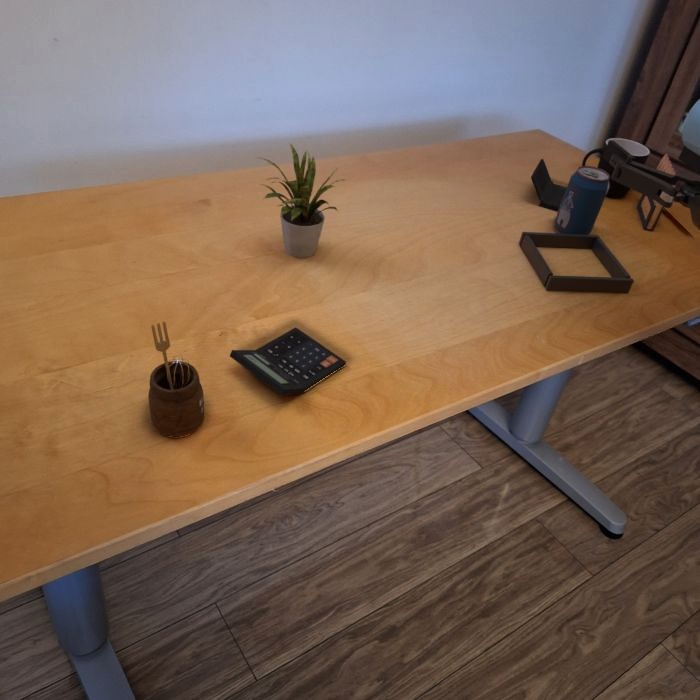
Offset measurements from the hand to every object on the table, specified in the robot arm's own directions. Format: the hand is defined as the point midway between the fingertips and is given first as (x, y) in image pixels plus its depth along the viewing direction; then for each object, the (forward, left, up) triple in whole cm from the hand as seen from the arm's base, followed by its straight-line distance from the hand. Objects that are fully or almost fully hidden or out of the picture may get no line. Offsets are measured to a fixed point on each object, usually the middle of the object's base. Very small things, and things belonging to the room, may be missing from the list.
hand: (646, 149), depth 97 cm
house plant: (+54, -2, -21) cm, 58 cm away
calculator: (+56, +28, -21) cm, 66 cm away
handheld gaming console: (0, -25, -21) cm, 32 cm away
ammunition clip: (-18, -18, -21) cm, 33 cm away
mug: (-14, -30, -21) cm, 39 cm away
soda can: (+1, -11, -21) cm, 24 cm away
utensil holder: (+69, +37, -21) cm, 81 cm away
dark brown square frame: (+6, +2, -21) cm, 22 cm away
